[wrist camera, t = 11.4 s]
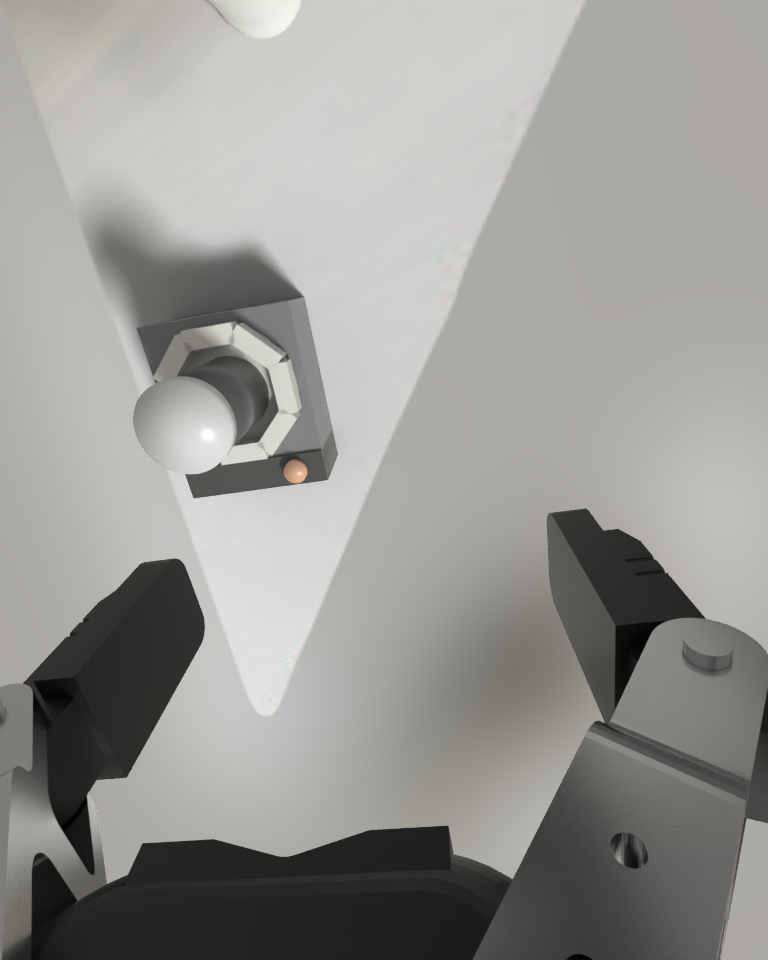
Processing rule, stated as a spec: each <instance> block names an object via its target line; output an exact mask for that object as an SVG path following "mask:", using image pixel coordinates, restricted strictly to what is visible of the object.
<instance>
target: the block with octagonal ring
mask: <svg viewBox="0 0 768 960" xmlns="http://www.w3.org/2000/svg"><path fill="white" fill-rule="evenodd" d="M137 330H138V333H139V336H140V339H141V342H142V345H143V348H144V351H145V353H146V356H147V359H148V362H149V365H150V368H151V371H152V374H153V378H154V380H155V383H154V384H157V383H159V382H161V381H163V380H166V379H168V378H172V377H177V376H179V375H181V374H183V373H185V372H187V371H189V370H192V369H194V368H196V367H198V366H200V365H202V364H204V363H207V362H209V361H211V360H213V359H215V358H218V357H222V356H234V357H239V358H242V359H244V360H246V361H248V362H250V363H251V364H252V365H254V366H255V367H256V368H257V369H258V370H259V371H260V372H261V374H262V375H263V377H264V379H265V381H266V383H267V386H268V390H269V403H268V407H267V410H266V412H265V414H264V415H263V416H262V418H261V419H260V420H259V421H258V422H257V423H256V424H255V425H254V426H253V427H252V428H251V429H250V430H249V431H248V432H247V433H246V434H245V435H244V436H243V437H242V438H241V439H240V440H239V441H238V442H237V443H236V444H235V445H234V446H233V447H232V449H231V451H230V452H229V454H228V455H227V456H226V457H225V458H224V459H223V460H222V461H221V462H220V463H219V464H218V465H217V466H215V467H214V468H212V469H211V470H209V471H206V472H203V473H199V474H185V475H186V478H187V481H188V484H189V486H190V489H191V492H192V495H193V498H200V497H207V496H215V495H222V494H229V493H236V492H244V491H251V490H258V489H266V488H273V487H280V486H287V485H295V484H302V483H309V482H317V481H324V480H328V478H329V476H330V473H331V471H332V468H333V466H334V463H335V461H336V458H337V455H338V453H337V449H336V444H335V439H334V435H333V430H332V425H331V421H330V416H329V411H328V407H327V402H326V397H325V393H324V388H323V383H322V379H321V374H320V369H319V365H318V360H317V355H316V351H315V346H314V341H313V337H312V332H311V327H310V323H309V318H308V313H307V309H306V304H305V299H304V297H300V298H295V299H289V300H284V301H278V302H272V303H267V304H261V305H256V306H250V307H245V308H239V309H233V310H228V311H222V312H217V313H211V314H205V315H200V316H194V317H189V318H183V319H177V320H172V321H167V322H163V323H158V324H153V325H149V326H144V327H139V328H137ZM154 384H153V385H154Z"/></svg>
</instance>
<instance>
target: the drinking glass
mask: <svg viewBox="0 0 768 960" xmlns="http://www.w3.org/2000/svg"><path fill="white" fill-rule="evenodd" d="M209 1H210V2H211V3H212V4H213V5H214V6H215V7H216V8H217V10H218V11H219V12H220V14H221V15H222V16H223V17H224V19H225V20H226V21H227V22H228V23H229V24H230V25H231V26H232V27H233V28H234V29H235V30H236V31H238V32H239V33H241V34H243V35H245V36H247V37H250V38H253V39H269V38H273V37H275V36H277V35H279V34H281V33H282V32H283V31H285V30H286V29H287V28H288V27H289V26H290V24H291V23H292V22H293V20H294V18H295V17H296V15H297V13H298V10H299V8H300V4H301V0H209Z"/></svg>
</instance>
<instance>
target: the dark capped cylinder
mask: <svg viewBox="0 0 768 960" xmlns="http://www.w3.org/2000/svg"><path fill="white" fill-rule="evenodd" d="M268 403H269V390H268V386H267V383H266V381H265V379H264V377H263V375H262V374H261V372H260V371H259V370H258V369H257V368H256V367H255V366H254V365H252V364H251V363H250V362H248V361H246V360H244V359H242V358H239V357H234V356H222V357H218V358H215V359H213V360H211V361H209V362H207V363H204V364H202V365H200V366H198V367H196V368H194V369H192V370H189V371H187V372H185V373H183V374H181V375H179V376H177V377H172V378H168V379H166V380H163V381H161V382H159V383H157V384H154V385H153V386H151V387H149V388H148V389H147V390H146V391H145V392H144V393H143V394H142V395H141V396H140V398H139V399H138V401H137V403H136V406H135V410H134V416H133V419H134V420H133V421H134V429H135V433H136V436H137V438H138V441H139V443H140V444H141V446H142V448H143V449H144V450H145V452H146V453H147V454H148V455H149V456H150V457H151V458H152V459H153V460H154V461H155V462H157V463H158V464H159V465H161V466H163V467H164V468H166V469H169V470H171V471H174V472H177V473H182V474H199V473H203V472H206V471H209V470H211V469H212V468H214V467H215V466H217V465H218V464H219V463H220V462H221V461H222V460H223V459H224V458H225V457H226V456H227V455H228V454H229V452H230V451H231V449H232V447H233V446H234V445H235V444H236V443H237V442H238V441H239V440H240V439H241V438H242V437H243V436H244V435H245V434H246V433H247V432H248V431H249V430H250V429H251V428H252V427H253V426H254V425H255V424H256V423H257V422H258V421H259V420H260V419H261V418H262V416H263V415H264V414H265V412H266V410H267V407H268Z"/></svg>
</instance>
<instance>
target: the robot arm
mask: <svg viewBox="0 0 768 960" xmlns="http://www.w3.org/2000/svg"><path fill="white" fill-rule="evenodd" d="M547 535H548V558H549V577H550V586H551V592H552V597H553V600H554V604H555V607H556V609H557V612H558V614H559V616H560V619H561V621H562V623H563V626H564V628H565V630H566V633H567V635H568V637H569V640H570V642H571V644H572V647H573V649H574V651H575V654H576V656H577V658H578V661H579V663H580V665H581V668H582V670H583V672H584V675H585V677H586V679H587V682H588V684H589V686H590V688H591V690H592V693H593V696H594V698H595V700H596V702H597V705H598V707H599V710H600V712H601V714H602V717H603V719H604V721H605V723H603V722H601V721H596V722H594V723H593V724H592V725H591V726H590V728H589V729H588V731H587V733H586V735H585V737H584V739H583V741H582V743H581V745H580V747H579V748H578V750H577V752H576V754H575V757H574V759H573V761H572V763H571V764H570V766H569V768H568V770H567V772H566V774H565V776H564V778H563V780H562V783H561V784H560V786H559V788H558V790H557V792H556V795H555V797H554V798H553V800H552V802H551V804H550V806H549V808H548V810H547V812H546V815H545V816H544V818H543V820H542V822H541V824H540V826H539V828H538V830H537V832H536V834H535V836H534V838H533V840H532V842H531V844H530V846H529V848H528V850H527V852H526V854H525V856H524V858H523V860H522V862H521V864H520V867H519V868H518V870H517V872H516V874H515V876H514V878H513V879H511V878H510V877H508V876H506V875H504V874H503V873H501V872H499V871H497V870H495V869H494V868H491V867H490V866H487V865H485V864H482V863H479V862H477V861H474V860H472V859H469V858H465V857H461V856H458V855H454V854H453V850H452V844H451V838H450V833H449V827H448V826H435V827H418V828H401V829H385V830H384V829H383V830H369V831H366V832H363V833H360V834H357V835H354V836H351V837H348V838H345V839H342V840H339V841H336V842H333V843H330V844H327V845H324V846H321V847H318V848H315V849H312V850H309V851H306V852H303V853H300V854H297V855H294V856H290V857H278V856H274V855H270V854H267V853H263V852H259V851H256V850H252V849H248V848H244V847H240V846H237V845H233V844H229V843H226V842H222V841H218V840H214V839H212V840H197V841H196V840H195V841H178V842H161V843H143V844H142V846H141V848H140V850H139V852H138V855H137V857H136V859H135V861H134V863H133V865H132V867H131V870H130V872H129V874H128V875H127V876H124V877H122V878H120V879H117V880H115V881H113V882H111V883H109V884H107V880H106V873H105V866H104V858H103V850H102V842H101V835H100V828H99V820H98V813H97V805H96V801H95V799H94V797H93V796H92V794H91V792H90V790H91V788H92V786H93V785H94V783H95V781H96V780H101V779H114V778H126V777H127V776H128V774H129V772H130V771H131V769H132V767H133V765H134V763H135V761H136V760H137V758H138V756H139V754H140V753H141V751H142V749H143V747H144V745H145V744H146V742H147V740H148V738H149V737H150V735H151V733H152V731H153V729H154V728H155V726H156V724H157V722H158V720H159V719H160V717H161V715H162V713H163V711H164V710H165V708H166V706H167V704H168V702H169V701H170V699H171V697H172V695H173V694H174V691H175V690H176V688H177V686H178V685H179V683H180V681H181V679H182V677H183V676H184V674H185V672H186V670H187V668H188V667H189V665H190V663H191V661H192V660H193V658H194V656H195V654H196V652H197V651H198V649H199V647H200V645H201V643H202V640H203V637H204V631H205V630H204V629H205V624H204V617H203V613H202V611H201V608H200V605H199V602H198V600H197V597H196V594H195V592H194V589H193V586H192V583H191V581H190V578H189V576H188V573H187V570H186V568H185V565H184V564H183V563H182V561H180V560H179V559H167V560H159V561H151V562H144V563H141V564H140V565H139V566H138V567H137V568H136V569H135V570H134V571H133V572H132V574H131V575H130V576H129V577H128V578H127V579H126V580H125V581H124V582H123V584H121V586H120V587H119V588H118V589H117V590H116V591H114V592H113V593H112V594H110V595H109V596H107V597H106V598H104V599H103V600H102V601H100V602H99V603H98V604H97V605H96V606H95V607H94V608H93V609H92V610H91V611H90V612H89V613H88V614H87V616H86V617H85V618H84V619H83V622H82V623H79V624H78V625H77V626H76V627H75V628H74V629H73V630H72V632H71V633H70V637H66V638H65V639H64V640H63V641H62V642H61V643H60V644H59V646H58V647H57V648H56V649H55V650H54V651H53V652H52V653H51V654H50V655H49V656H48V657H47V658H46V659H45V660H44V662H43V663H42V664H41V665H40V666H39V667H38V668H37V669H36V670H35V671H34V672H33V673H32V674H31V675H30V677H29V678H28V679H27V680H26V681H25V682H24V683H23V684H10V685H6V686H2V687H0V960H721V958H722V953H723V947H724V941H725V935H726V930H727V924H728V919H729V913H730V908H731V902H732V896H733V891H734V885H735V880H736V874H737V869H738V863H739V857H740V852H741V846H742V841H743V835H744V830H745V824H746V819H747V818H749V819H753V820H757V821H761V822H765V823H768V654H767V653H766V651H765V650H764V649H763V647H762V646H761V645H760V644H759V643H758V642H757V641H755V640H754V639H753V638H752V637H750V636H749V635H747V634H746V633H744V632H742V631H740V630H738V629H736V628H734V627H732V626H729V625H727V624H723V623H720V622H717V621H712V620H708V619H705V617H704V616H703V615H702V614H701V612H700V611H699V610H698V609H697V608H696V607H695V605H694V604H693V603H692V602H691V601H690V600H689V598H688V597H687V596H686V595H685V594H684V592H683V591H682V590H681V589H680V588H679V586H678V585H677V584H676V583H675V582H674V581H673V580H672V578H671V577H670V576H669V575H668V573H665V572H664V569H663V567H662V566H661V565H660V564H659V563H658V562H657V561H656V560H654V559H653V556H652V554H651V553H650V552H649V551H648V550H647V549H646V547H645V546H644V545H643V544H642V543H641V541H639V540H637V539H636V538H634V537H632V536H630V535H628V534H626V533H624V532H623V531H621V530H619V529H614V530H606V531H603V530H602V528H601V527H600V526H599V524H598V523H597V522H596V521H595V519H594V517H593V516H592V515H591V513H590V512H589V511H588V510H587V509H578V510H570V511H562V512H554V513H549V514H548V516H547Z"/></svg>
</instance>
